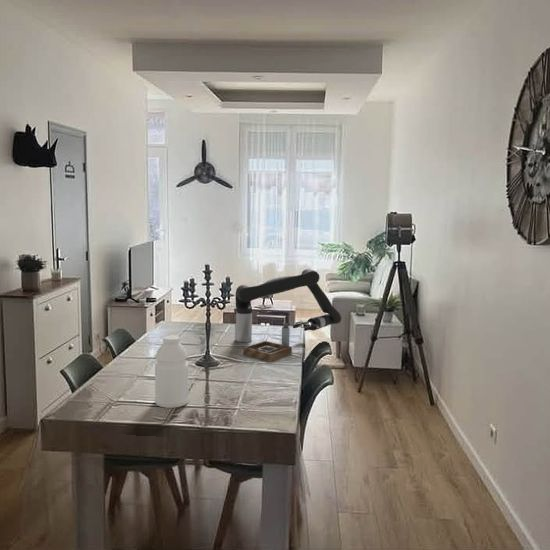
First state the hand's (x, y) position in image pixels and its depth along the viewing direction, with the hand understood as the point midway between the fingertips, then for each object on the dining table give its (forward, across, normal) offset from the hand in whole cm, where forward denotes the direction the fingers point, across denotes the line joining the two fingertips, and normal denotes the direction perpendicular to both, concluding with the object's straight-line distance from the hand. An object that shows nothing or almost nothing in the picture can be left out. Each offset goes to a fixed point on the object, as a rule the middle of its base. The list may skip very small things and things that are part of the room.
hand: (298, 327), depth 317 cm
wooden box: (+27, +1, +10) cm, 29 cm away
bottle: (+106, +21, +9) cm, 109 cm away
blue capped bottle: (+12, 0, +10) cm, 15 cm away
